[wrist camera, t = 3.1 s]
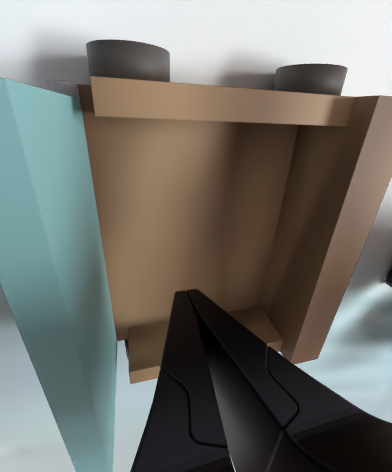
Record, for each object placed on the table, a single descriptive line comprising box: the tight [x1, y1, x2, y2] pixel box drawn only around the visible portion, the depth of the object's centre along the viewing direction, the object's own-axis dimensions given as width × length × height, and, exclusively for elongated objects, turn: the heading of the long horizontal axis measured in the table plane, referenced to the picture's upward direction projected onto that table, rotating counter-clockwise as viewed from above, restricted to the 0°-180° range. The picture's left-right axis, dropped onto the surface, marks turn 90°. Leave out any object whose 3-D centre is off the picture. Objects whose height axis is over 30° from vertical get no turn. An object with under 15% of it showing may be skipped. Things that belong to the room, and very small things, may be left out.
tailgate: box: [0, 78, 117, 472], centre depth 9 cm, size 1×14×7 cm, turn 178°
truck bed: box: [77, 40, 392, 384], centre depth 13 cm, size 12×16×6 cm
